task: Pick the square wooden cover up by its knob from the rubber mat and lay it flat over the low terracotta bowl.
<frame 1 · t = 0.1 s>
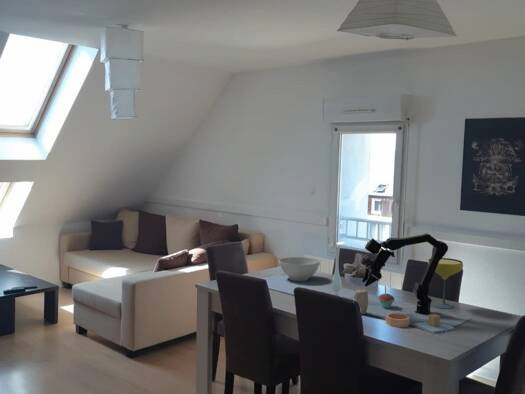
hand: (364, 284, 287), 15 cm above the table, tool tilted 35°, fingers open, 9 cm apart
carving: (360, 313, 286), on the table
cover: (433, 327, 263), resting on mat
mat: (433, 328, 263), on the table
bowl: (397, 324, 268), on the table
cocktail glass: (443, 306, 301), on the table
cupcake: (385, 307, 299), on the table
decorative bowl: (299, 279, 362), on the table
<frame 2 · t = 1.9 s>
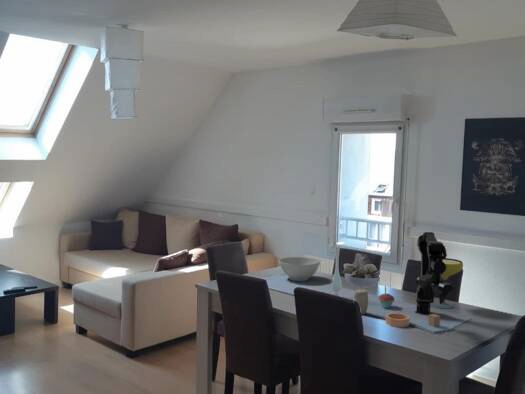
hand: (433, 301, 262), 13 cm above the table, tool pointing down, fingers open, 9 cm apart
nothing on the table moved.
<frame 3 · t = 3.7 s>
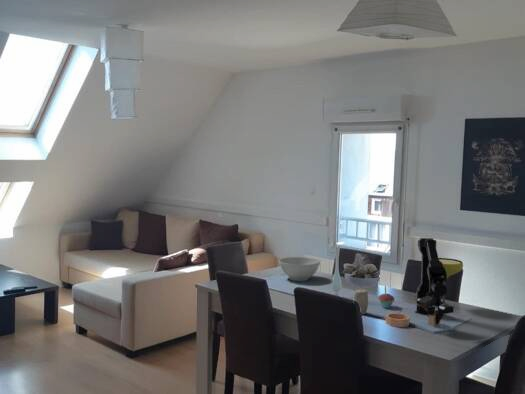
hand: (434, 322, 262), 3 cm above the table, tool pointing down, fingers closed on cover, 4 cm apart
cover: (433, 327, 263), resting on mat, touching gripper
everything else where it was.
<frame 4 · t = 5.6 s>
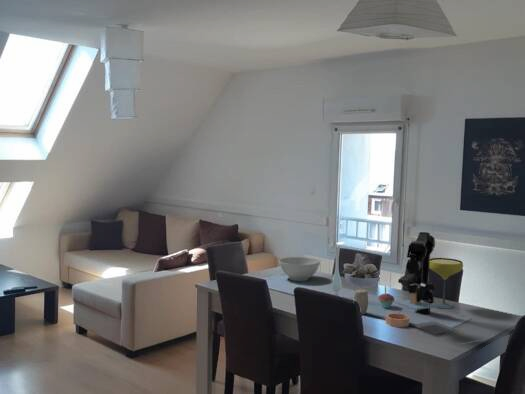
hand: (415, 300, 264), 13 cm above the table, tool pointing down, fingers closed on cover, 4 cm apart
cover: (415, 305, 264), point 10 cm above the table, touching gripper
everything else where it was.
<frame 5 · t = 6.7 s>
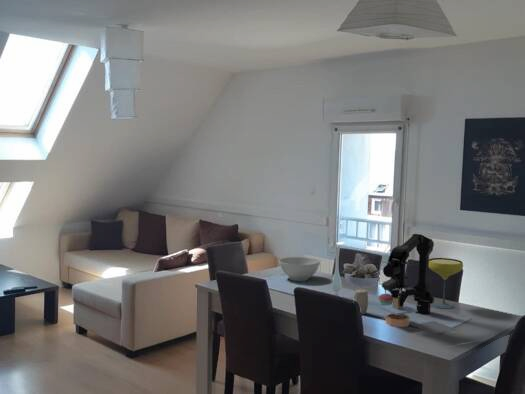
hand: (398, 305, 267), 9 cm above the table, tool pointing down, fingers closed on cover, 4 cm apart
cover: (397, 309, 267), point 7 cm above the table, touching gripper
everything else where it was.
when the fingers open (8 cm above the table, at t = 7.7 s): cover drops 1 cm, resting on bowl.
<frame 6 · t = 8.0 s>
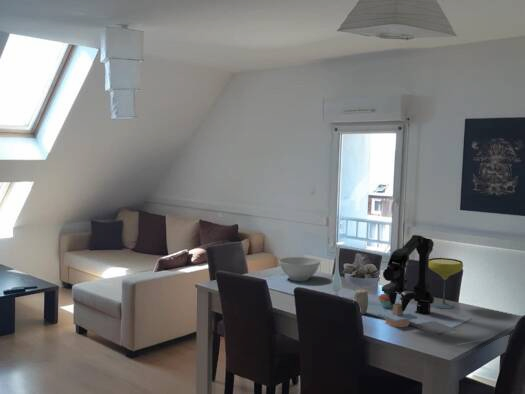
hand: (397, 309, 267), 8 cm above the table, tool pointing down, fingers open, 7 cm apart
cover: (397, 316, 268), point 4 cm above the table, touching bowl
everything else where it was.
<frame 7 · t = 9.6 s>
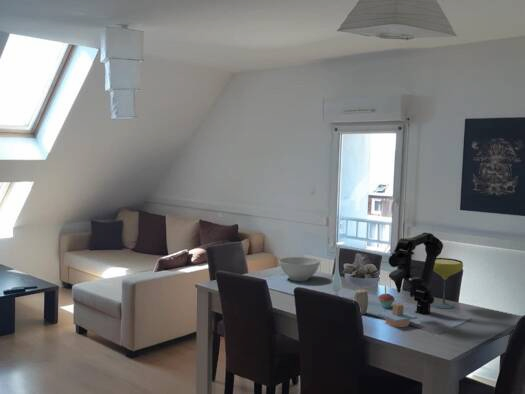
hand: (405, 294, 275), 13 cm above the table, tool pointing down, fingers open, 9 cm apart
nothing on the table moved.
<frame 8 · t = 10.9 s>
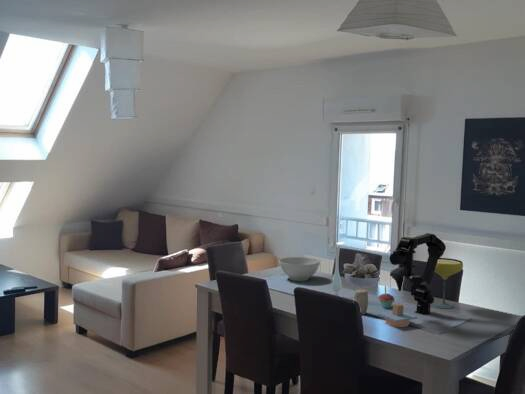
hand: (405, 293, 277), 13 cm above the table, tool pointing down, fingers open, 9 cm apart
nothing on the table moved.
at the end: cover 0.0 cm off-centre on the bowl, point 4.0 cm above the bowl's base; cover tilted 0°; the gripper is holding nothing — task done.
